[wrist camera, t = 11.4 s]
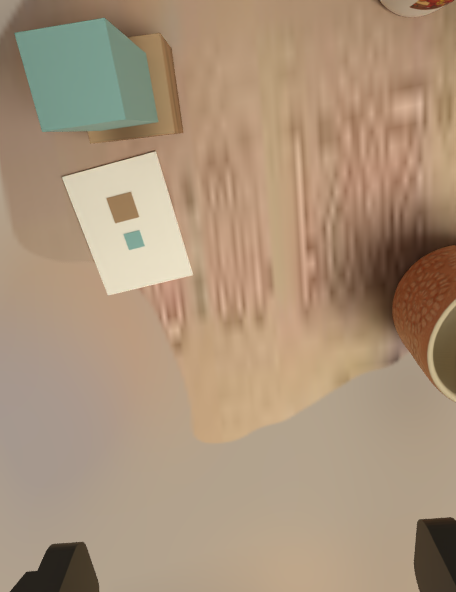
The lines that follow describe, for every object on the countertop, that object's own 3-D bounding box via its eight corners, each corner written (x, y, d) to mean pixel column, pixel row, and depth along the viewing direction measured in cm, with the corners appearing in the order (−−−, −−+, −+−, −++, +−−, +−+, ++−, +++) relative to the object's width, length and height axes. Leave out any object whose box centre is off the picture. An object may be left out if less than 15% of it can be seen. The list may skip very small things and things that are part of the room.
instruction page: (156, 151, 37) (155, 151, 37) (193, 274, 41) (192, 275, 41) (62, 176, 38) (61, 177, 38) (108, 294, 42) (107, 295, 42)
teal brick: (145, 53, 29) (104, 17, 20) (158, 122, 31) (125, 119, 21) (83, 63, 29) (14, 32, 20) (99, 130, 31) (42, 131, 22)
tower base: (171, 48, 34) (159, 32, 29) (183, 132, 37) (174, 133, 31) (94, 58, 34) (68, 45, 29) (111, 141, 37) (90, 143, 31)
